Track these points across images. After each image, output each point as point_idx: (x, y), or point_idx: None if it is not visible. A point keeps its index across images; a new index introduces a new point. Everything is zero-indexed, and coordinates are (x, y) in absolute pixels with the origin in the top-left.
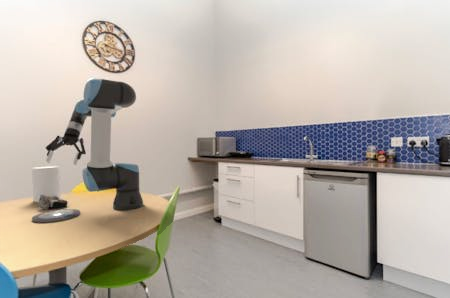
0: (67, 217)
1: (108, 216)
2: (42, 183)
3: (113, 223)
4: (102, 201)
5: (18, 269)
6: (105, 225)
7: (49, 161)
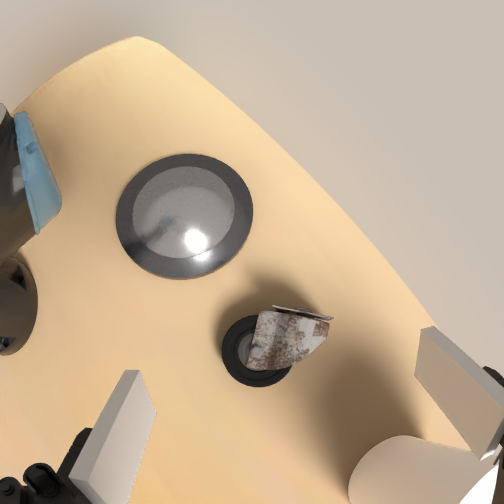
0: (134, 177)
1: None
2: (429, 458)
3: None
4: None
5: (133, 36)
6: (47, 141)
7: (420, 373)
